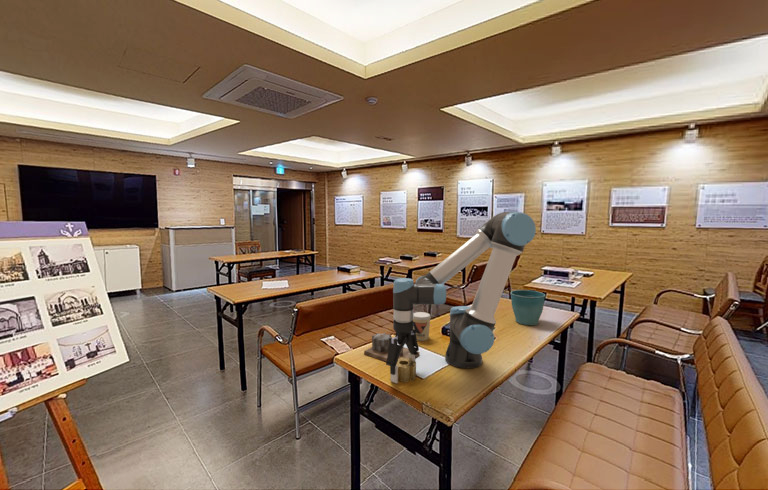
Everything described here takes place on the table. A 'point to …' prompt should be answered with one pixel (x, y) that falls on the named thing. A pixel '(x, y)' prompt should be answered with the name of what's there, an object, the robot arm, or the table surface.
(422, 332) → the coffee cup
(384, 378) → the table surface
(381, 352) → the gear board
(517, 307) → the flower pot
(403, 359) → the brass gear
